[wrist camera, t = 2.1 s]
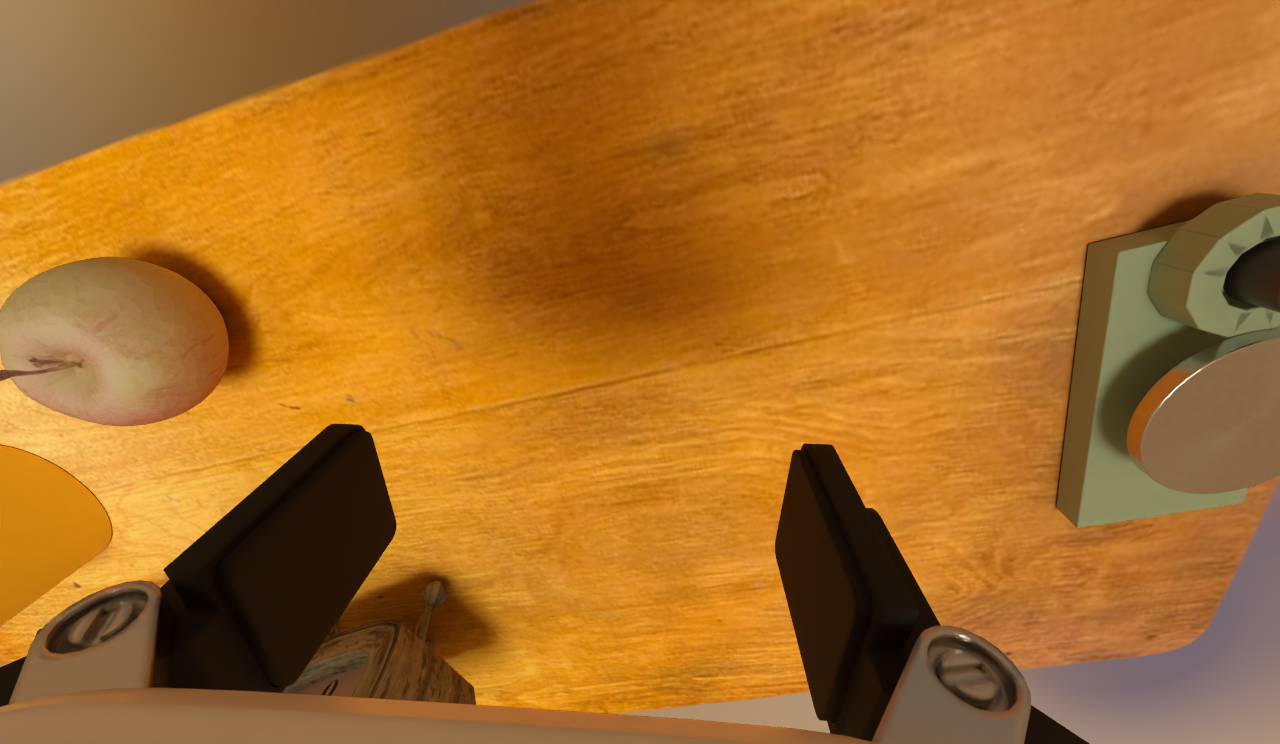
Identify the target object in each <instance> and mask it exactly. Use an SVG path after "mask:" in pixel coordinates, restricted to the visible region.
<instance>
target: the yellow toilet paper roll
mask: <svg viewBox="0 0 1280 744" xmlns="http://www.w3.org/2000/svg"><path fill="white" fill-rule="evenodd" d="M111 536H112V529H111V524H110V521H109V518H108V516H107V514H106V512H105V510H104V508H103V507H102V505H101V504H100V503H99V501H98V500H97V499H96V498H95V497H94V495H93V494H92V493H91V492H90V491H89V490H88V489H87V488H86V487H85V486H83V485H82V484H81V483H80V482H79V481H78V480H76V479H75V478H74V477H72V476H71V475H70V474H68V473H67V472H65V471H64V470H62V469H61V468H59V467H57V466H56V465H54V464H52V463H50V462H48V461H46V460H44V459H42V458H40V457H38V456H35V455H33V454H31V453H28V452H25V451H22V450H19V449H15V448H12V447H7V446H2V445H0V627H1V626H2V625H3V624H5V623H6V622H7V621H9V620H10V619H12V618H13V617H14V616H16V615H17V614H18V613H20V612H21V611H22V610H24V609H25V608H26V607H28V606H29V605H30V604H32V603H33V602H34V601H36V600H37V599H38V598H40V597H41V596H42V595H44V594H45V593H46V592H48V591H49V590H50V589H52V588H53V587H54V586H56V585H57V584H59V583H60V582H61V581H63V580H64V579H65V578H67V577H68V576H69V575H71V574H72V573H73V572H75V571H76V570H77V569H79V568H80V567H81V566H83V565H84V564H85V563H87V562H88V561H89V560H91V559H92V558H93V557H95V556H96V555H97V554H99V553H100V552H101V551H103V550H104V549H105V548H106V547H107V546H108V544H109V543H110V540H111Z"/></svg>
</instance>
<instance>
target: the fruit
mask: <svg viewBox="0 0 1280 744" xmlns="http://www.w3.org/2000/svg"><path fill="white" fill-rule="evenodd" d="M0 355H1V359H2V363H3V366H4V368H5V370H0V381H2V380H5V379H8V378H10V379H11V380H12V381H13V382H14V383H15V385H16V386H17V387H18V388H19V389H20V390H21V391H22V392H23V393H25V394H26V395H27V396H28V397H30V398H31V399H32V400H34V401H36V402H38V403H40V404H42V405H44V406H46V407H48V408H50V409H52V410H54V411H57V412H60V413H63V414H65V415H68V416H71V417H75V418H78V419H82V420H85V421H89V422H93V423H98V424H103V425H111V426H135V425H146V424H150V423H155V422H159V421H163V420H166V419H169V418H172V417H175V416H177V415H179V414H182V413H184V412H186V411H188V410H189V409H191V408H193V407H194V406H196V405H197V404H199V403H200V402H202V401H203V400H204V399H205V398H206V397H207V396H208V395H209V394H210V393H212V391H213V390H214V389H215V387H216V386H217V385H218V384H219V382H220V380H221V378H222V377H223V374H224V372H225V369H226V367H227V362H228V355H229V341H228V334H227V328H226V325H225V322H224V319H223V317H222V315H221V313H220V312H219V310H218V308H217V307H216V305H215V304H214V303H213V302H212V300H211V299H210V298H209V297H208V296H207V295H206V294H205V293H204V292H203V291H202V290H201V289H200V288H198V287H197V286H196V285H195V284H193V283H192V282H190V281H189V280H187V279H186V278H184V277H183V276H181V275H180V274H178V273H175V272H173V271H171V270H169V269H166V268H163V267H161V266H158V265H155V264H151V263H148V262H145V261H140V260H135V259H130V258H121V257H99V258H92V259H86V260H80V261H74V262H71V263H67V264H64V265H60V266H57V267H54V268H52V269H50V270H47V271H45V272H42V273H40V274H38V275H36V276H35V277H33V278H31V279H29V280H28V281H26V282H25V283H24V284H22V285H21V286H20V287H19V288H17V289H16V290H15V291H14V292H13V293H12V294H11V295H10V296H9V297H8V298H7V300H6V301H5V303H4V304H3V306H2V308H1V310H0Z"/></svg>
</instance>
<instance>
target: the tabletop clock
mask: <svg viewBox="0 0 1280 744" xmlns="http://www.w3.org/2000/svg"><path fill="white" fill-rule="evenodd" d="M447 595H448V589H447V587H446V584H445V583H444V582H441V581H434V582H431V583H430V584H429V585H427V586H426V588H425V589H424V592H423V599H424V601H425V603H426V604H427V605H426V607H425V609H424V611H423V613H422V615H421V617H420V619H419V621H418V623H417V625H416V627H415V629H414V631H413V632H412V631H411V630H409V629H408V628H407V627H406V626H405V625H404V624H403V623H402V622H398V621H394V620H384V621H379V622H375V623H372V624H368V625H365V626H362V627H358V628H355V629H352V630H349V631H345V632H342V633H339V632H340V631H339V628H338V627H337V625H336V624H335V625H334V627H333V628H332V630H331V631H330V633H329V634H328V636H327V637H326V639H325V640H324V641H323V643H322V644H321V646H320V647H319V649H318V650H317V652H316V653H315V655H314V656H313V658H312V659H311V661H310V662H309V664H308V665H307V667H306V668H305V670H304V671H303V673H302V674H301V676H300V677H299V678H298V680H297V681H296V682H295V683H293V684H292V685H290V686H287V687H286V688H285V690H284V691H283V693H290V694H307V695H325V696H342V697H359V698H376V699H392V700H408V701H424V702H440V703H455V704H471V705H476V701H475V693H474V687H473V686H472V685H471V684H470V683H469V682H467V681H466V680H465V679H464V678H463V677H462V676H461V675H460V674H458V673H457V672H456V671H455V670H454V669H453V668H452V667H451V666H450V665H448V664H447V663H446V662H445V661H444V660H443V659H442V658H441V657H440V656H438V655H437V654H436V653H435V652H434V645H433V643H432V641H430V640H429V639H425V637H426V633H427V629H428V626H429V623H430V619H431V616H432V613H433V609H434V607H435V606H439V605H440V604H442V603H443V602H444V601H445V600H446V598H447Z"/></svg>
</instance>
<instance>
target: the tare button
mask: <svg viewBox="0 0 1280 744" xmlns="http://www.w3.org/2000/svg"><path fill="white" fill-rule="evenodd" d="M1223 289H1224V291H1225V293H1226V294H1227V295H1228V296H1229V297H1231V298H1233V299H1236V300H1239V301H1243V302H1246V303H1249V304H1253V305H1256V306H1259V307H1263V308H1266V309H1269V310H1273V311H1276V312H1279V313H1280V240H1271V241H1266V242H1262V243H1259V244H1257V245H1255V246H1254V247H1252V248H1251V249H1249V250H1247V251H1246V252H1244V253H1243V254H1241V256H1240V257H1239V258H1238V259H1237V260H1236V262H1235V263H1234V264H1233V265H1232V266H1231V268H1230V269H1229V270H1228V271H1227V273H1226V277H1225V281H1224V285H1223Z"/></svg>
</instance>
